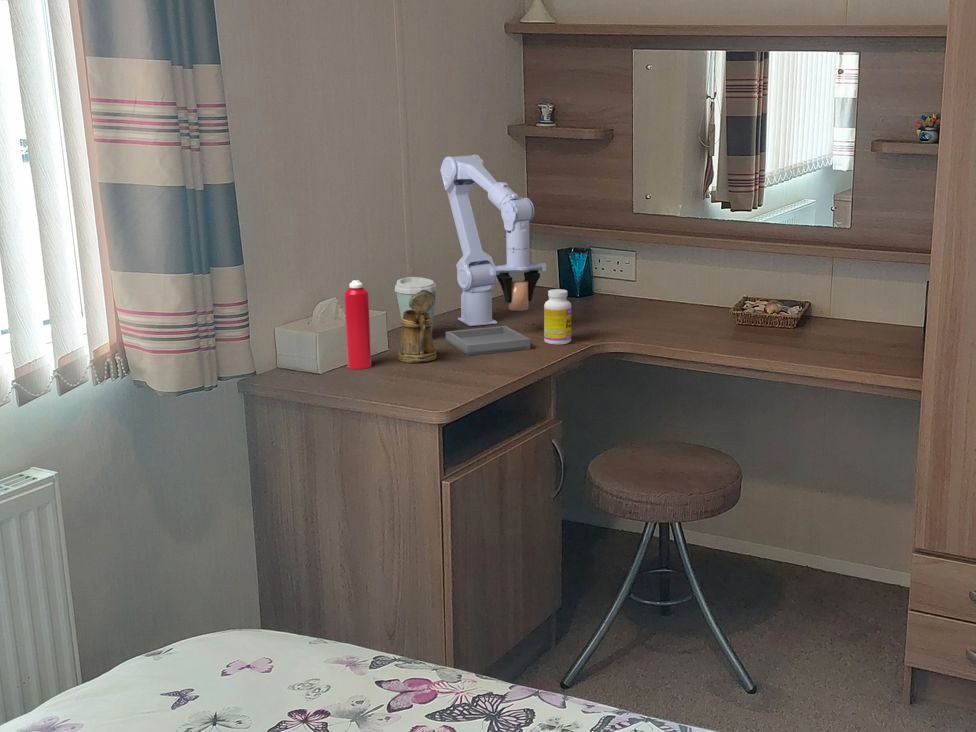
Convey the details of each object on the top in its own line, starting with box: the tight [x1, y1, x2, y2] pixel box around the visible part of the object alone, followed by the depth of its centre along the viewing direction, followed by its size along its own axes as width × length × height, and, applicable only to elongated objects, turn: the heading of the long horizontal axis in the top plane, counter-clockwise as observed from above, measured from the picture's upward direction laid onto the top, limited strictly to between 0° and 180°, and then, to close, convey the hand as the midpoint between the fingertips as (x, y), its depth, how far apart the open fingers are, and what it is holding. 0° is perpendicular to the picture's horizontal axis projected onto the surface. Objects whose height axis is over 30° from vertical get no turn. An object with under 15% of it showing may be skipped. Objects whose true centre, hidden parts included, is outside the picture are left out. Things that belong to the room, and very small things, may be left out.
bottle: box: [343, 279, 372, 370], centre depth 267 cm, size 5×5×20 cm
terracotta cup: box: [508, 279, 529, 312], centre depth 296 cm, size 5×5×7 cm
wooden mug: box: [397, 290, 437, 364], centre depth 271 cm, size 9×14×18 cm, turn 17°
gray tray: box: [445, 325, 531, 357], centre depth 287 cm, size 16×16×2 cm
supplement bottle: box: [543, 288, 572, 346], centre depth 288 cm, size 7×7×13 cm
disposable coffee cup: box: [394, 276, 438, 333], centre depth 293 cm, size 11×11×15 cm
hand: (518, 301), depth 297 cm, fingers closed on terracotta cup, 5 cm apart
